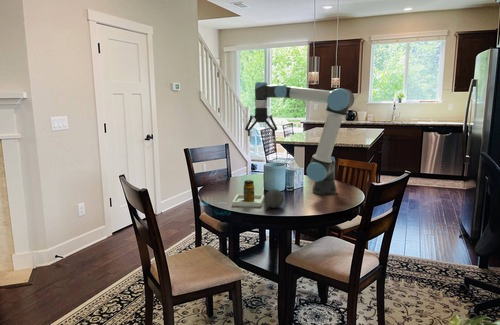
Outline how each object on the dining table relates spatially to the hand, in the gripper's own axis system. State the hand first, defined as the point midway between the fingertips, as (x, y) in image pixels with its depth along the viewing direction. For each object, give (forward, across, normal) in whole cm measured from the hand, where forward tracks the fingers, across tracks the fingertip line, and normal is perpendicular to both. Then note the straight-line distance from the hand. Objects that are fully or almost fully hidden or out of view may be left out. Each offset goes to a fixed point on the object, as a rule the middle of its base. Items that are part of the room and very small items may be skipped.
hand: (261, 141), depth 221 cm
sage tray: (+32, +4, +28) cm, 42 cm away
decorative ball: (+32, -11, +36) cm, 49 cm away
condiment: (+31, +4, +29) cm, 43 cm away
